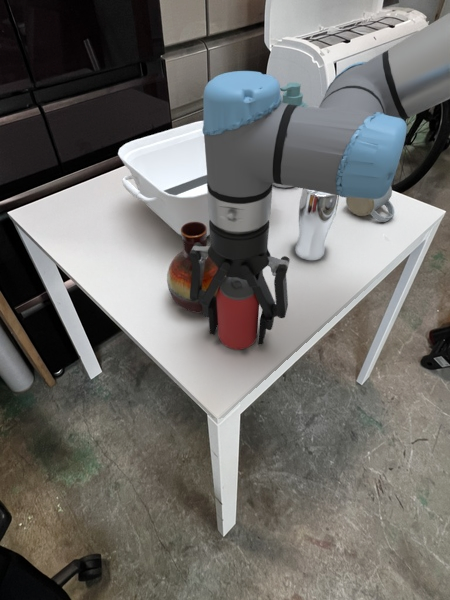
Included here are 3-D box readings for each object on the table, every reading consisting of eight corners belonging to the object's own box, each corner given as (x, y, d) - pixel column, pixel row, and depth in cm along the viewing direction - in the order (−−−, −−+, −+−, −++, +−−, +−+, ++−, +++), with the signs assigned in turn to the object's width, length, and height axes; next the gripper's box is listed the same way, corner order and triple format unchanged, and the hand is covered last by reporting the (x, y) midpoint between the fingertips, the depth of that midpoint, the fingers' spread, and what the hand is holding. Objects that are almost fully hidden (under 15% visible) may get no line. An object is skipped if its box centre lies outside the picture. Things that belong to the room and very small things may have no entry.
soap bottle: (257, 179, 99) (262, 84, 83) (282, 167, 104) (291, 75, 87) (285, 193, 94) (296, 95, 78) (310, 180, 98) (325, 84, 82)
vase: (207, 269, 75) (202, 201, 63) (242, 301, 68) (243, 232, 57) (159, 293, 70) (145, 225, 59) (191, 329, 64) (182, 261, 53)
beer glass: (286, 247, 79) (294, 182, 68) (312, 237, 81) (325, 173, 70) (305, 266, 75) (318, 200, 64) (333, 255, 77) (349, 190, 66)
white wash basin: (225, 168, 104) (224, 113, 93) (297, 214, 88) (306, 153, 77) (112, 210, 90) (96, 151, 79) (173, 274, 74) (162, 210, 63)
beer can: (247, 316, 66) (249, 265, 57) (263, 344, 62) (268, 293, 53) (212, 327, 64) (209, 276, 56) (226, 356, 60) (225, 306, 51)
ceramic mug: (340, 210, 88) (348, 181, 83) (358, 197, 92) (367, 167, 86) (381, 229, 83) (392, 199, 77) (398, 214, 87) (410, 184, 81)
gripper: (150, 223, 45) (173, 338, 62) (319, 249, 41) (295, 364, 58) (172, 192, 50) (188, 306, 67) (325, 212, 46) (301, 328, 63)
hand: (237, 333), depth 62 cm, fingers open, 8 cm apart
